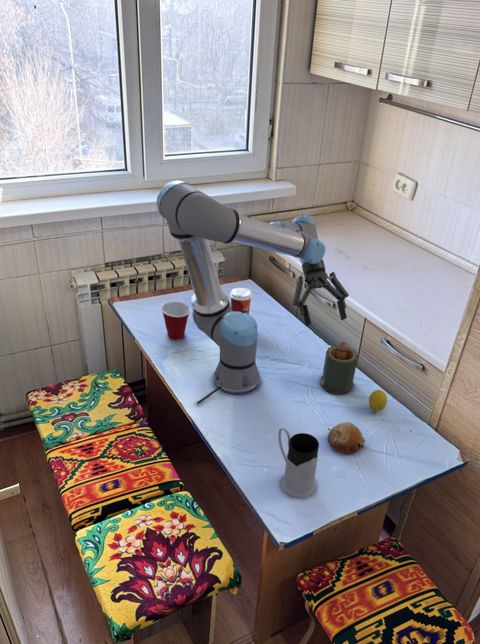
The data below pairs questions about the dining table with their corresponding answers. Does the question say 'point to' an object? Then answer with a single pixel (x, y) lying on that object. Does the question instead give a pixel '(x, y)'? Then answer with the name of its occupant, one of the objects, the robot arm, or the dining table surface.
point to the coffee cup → (240, 300)
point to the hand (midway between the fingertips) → (326, 322)
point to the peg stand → (341, 355)
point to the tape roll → (339, 369)
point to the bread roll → (346, 438)
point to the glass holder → (300, 464)
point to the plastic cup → (175, 318)
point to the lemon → (378, 400)
